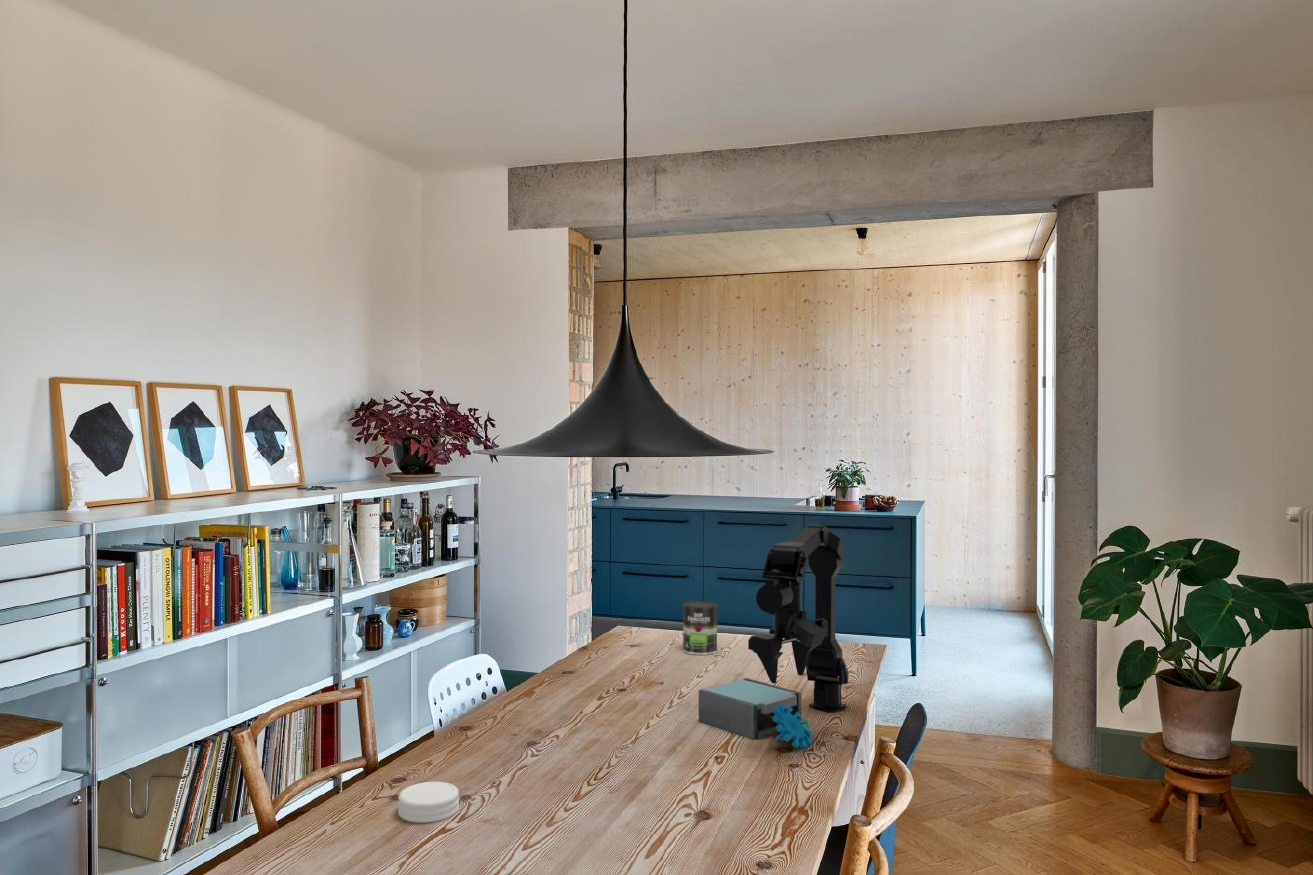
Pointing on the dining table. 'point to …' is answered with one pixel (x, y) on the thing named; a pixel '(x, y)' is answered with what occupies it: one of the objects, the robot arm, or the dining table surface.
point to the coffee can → (700, 627)
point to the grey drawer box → (738, 713)
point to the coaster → (428, 802)
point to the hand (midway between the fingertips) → (787, 679)
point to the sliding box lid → (756, 694)
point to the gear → (792, 727)
